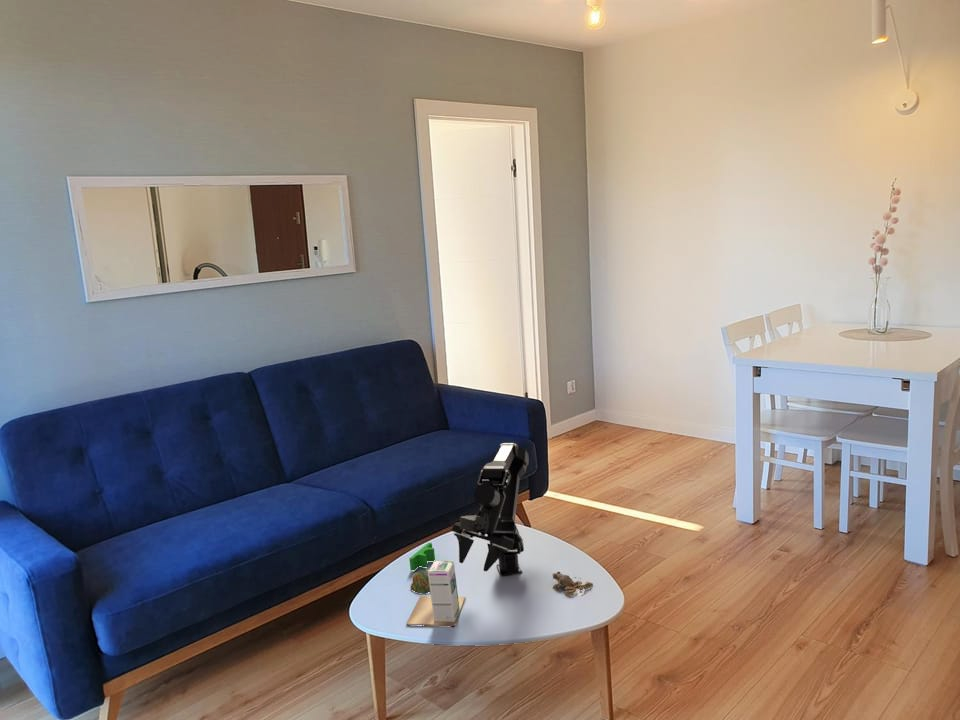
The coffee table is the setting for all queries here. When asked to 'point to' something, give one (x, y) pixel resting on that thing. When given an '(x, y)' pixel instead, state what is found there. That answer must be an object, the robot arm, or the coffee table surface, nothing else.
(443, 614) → the syrup box
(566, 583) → the frog figurine
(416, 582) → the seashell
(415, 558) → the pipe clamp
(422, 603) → the board
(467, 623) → the coffee table surface
